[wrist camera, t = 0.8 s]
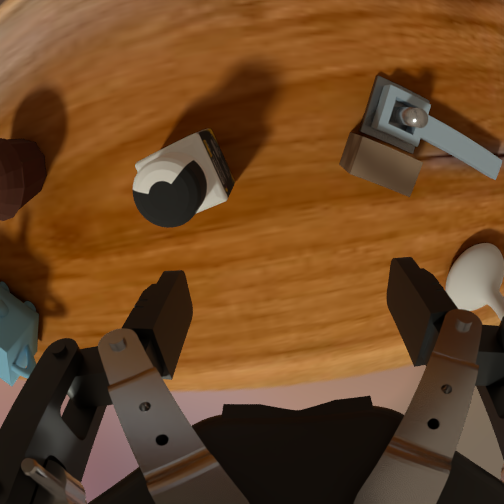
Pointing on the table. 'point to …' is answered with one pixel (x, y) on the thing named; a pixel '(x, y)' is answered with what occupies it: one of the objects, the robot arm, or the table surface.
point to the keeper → (380, 164)
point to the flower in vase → (477, 279)
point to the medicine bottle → (182, 180)
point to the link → (433, 133)
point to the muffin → (19, 174)
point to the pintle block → (393, 115)
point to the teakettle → (17, 336)
